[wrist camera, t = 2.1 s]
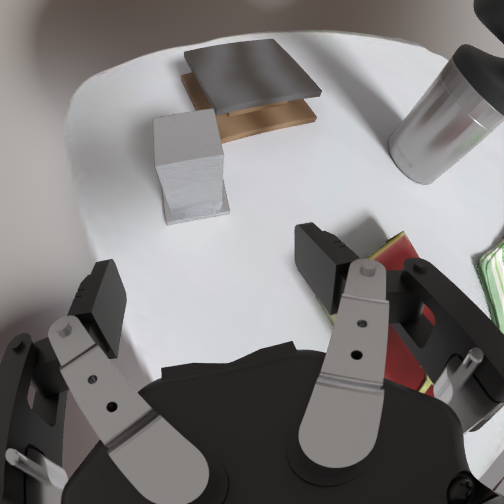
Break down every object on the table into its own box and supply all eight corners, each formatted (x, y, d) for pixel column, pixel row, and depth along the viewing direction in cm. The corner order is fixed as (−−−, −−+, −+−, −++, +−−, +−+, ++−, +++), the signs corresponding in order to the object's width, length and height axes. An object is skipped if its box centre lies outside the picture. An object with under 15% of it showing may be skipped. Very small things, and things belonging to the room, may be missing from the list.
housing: (218, 160, 30) (220, 100, 21) (229, 214, 28) (235, 160, 19) (161, 170, 28) (145, 112, 20) (167, 225, 27) (146, 176, 18)
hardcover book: (387, 240, 30) (407, 228, 26) (454, 375, 26) (476, 376, 22) (309, 295, 27) (324, 288, 23) (393, 439, 23) (414, 449, 19)
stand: (268, 63, 36) (274, 37, 31) (314, 121, 33) (327, 93, 28) (181, 80, 33) (179, 51, 28) (213, 146, 30) (213, 113, 25)
